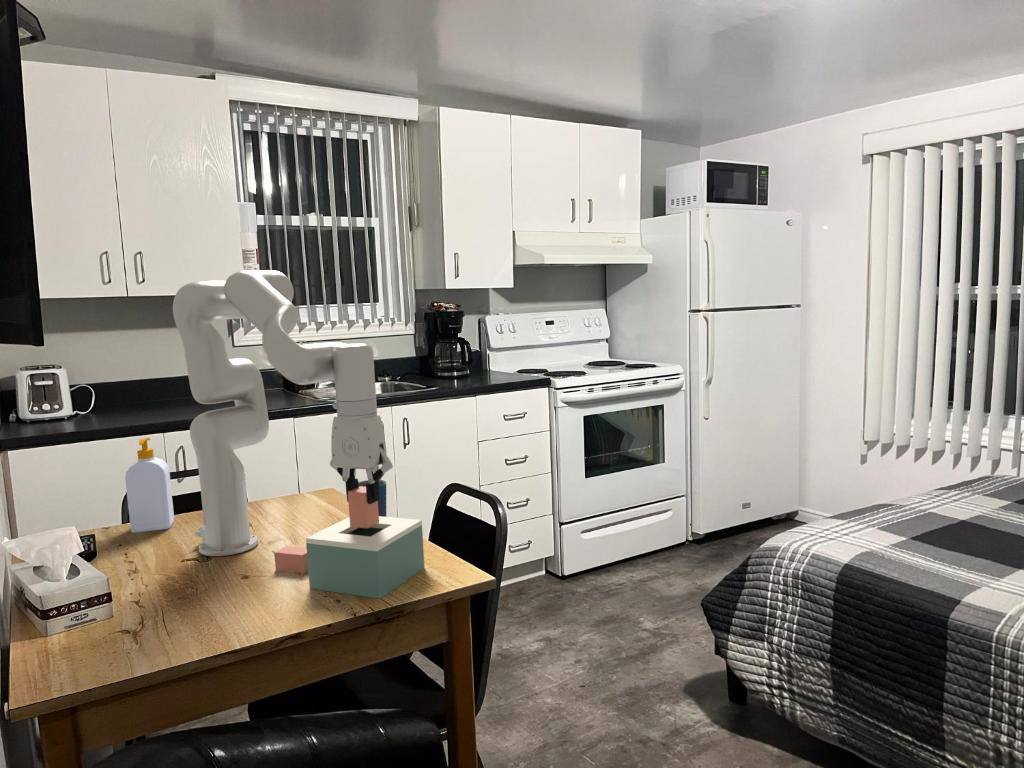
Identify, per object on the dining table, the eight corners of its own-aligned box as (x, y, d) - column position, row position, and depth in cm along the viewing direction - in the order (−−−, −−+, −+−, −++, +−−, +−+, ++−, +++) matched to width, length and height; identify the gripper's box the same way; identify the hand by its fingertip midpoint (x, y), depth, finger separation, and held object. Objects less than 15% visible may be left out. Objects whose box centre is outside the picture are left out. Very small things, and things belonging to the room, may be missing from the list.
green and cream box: (309, 588, 141) (305, 538, 140) (358, 559, 155) (355, 513, 154) (380, 598, 134) (376, 546, 133) (424, 567, 149) (421, 520, 148)
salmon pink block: (350, 526, 143) (347, 491, 142) (362, 520, 146) (359, 486, 145) (367, 528, 141) (365, 492, 140) (379, 522, 145) (376, 487, 144)
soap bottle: (130, 534, 180) (120, 442, 178) (136, 526, 187) (126, 437, 184) (170, 529, 183) (160, 439, 180) (174, 521, 190) (165, 434, 187)
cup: (383, 556, 157) (379, 487, 155) (353, 555, 158) (349, 487, 156) (395, 545, 163) (390, 479, 162) (366, 544, 165) (361, 479, 163)
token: (275, 571, 152) (274, 552, 151) (288, 564, 155) (286, 545, 155) (304, 574, 149) (302, 555, 149) (316, 567, 153) (314, 548, 152)
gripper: (309, 410, 141) (316, 503, 143) (382, 412, 134) (389, 510, 136) (333, 404, 148) (339, 493, 150) (404, 406, 141) (410, 499, 143)
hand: (363, 500), depth 143 cm, fingers closed on salmon pink block, 3 cm apart
